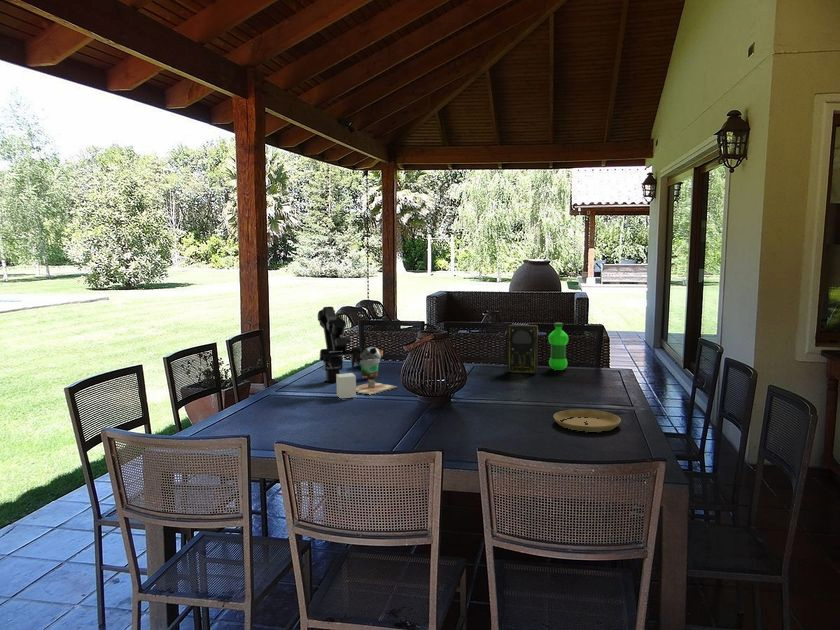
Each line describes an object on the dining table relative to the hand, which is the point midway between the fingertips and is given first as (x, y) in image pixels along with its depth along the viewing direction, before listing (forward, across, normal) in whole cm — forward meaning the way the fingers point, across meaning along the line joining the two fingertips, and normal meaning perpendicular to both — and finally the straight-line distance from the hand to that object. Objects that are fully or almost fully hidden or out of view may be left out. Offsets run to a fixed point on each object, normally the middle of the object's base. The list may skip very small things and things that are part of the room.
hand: (343, 368), depth 287 cm
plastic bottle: (-1, +118, +18) cm, 119 cm away
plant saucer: (+66, +75, -48) cm, 111 cm away
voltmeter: (-1, +98, +18) cm, 99 cm away
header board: (+5, +14, +11) cm, 19 cm away
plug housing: (+12, 0, +4) cm, 13 cm away
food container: (-12, +20, +29) cm, 38 cm away
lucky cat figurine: (-34, +25, +51) cm, 66 cm away
